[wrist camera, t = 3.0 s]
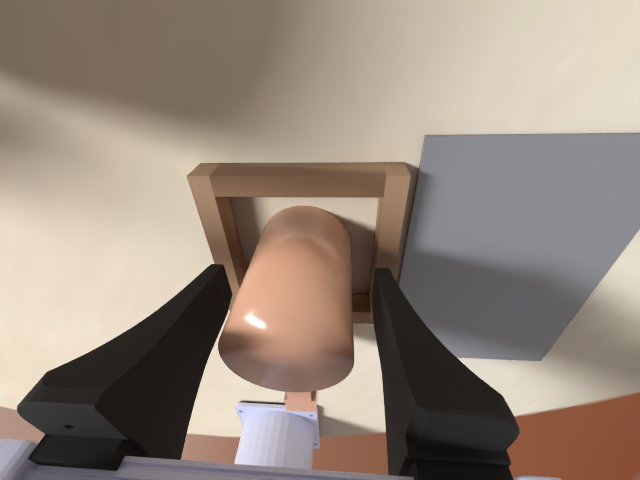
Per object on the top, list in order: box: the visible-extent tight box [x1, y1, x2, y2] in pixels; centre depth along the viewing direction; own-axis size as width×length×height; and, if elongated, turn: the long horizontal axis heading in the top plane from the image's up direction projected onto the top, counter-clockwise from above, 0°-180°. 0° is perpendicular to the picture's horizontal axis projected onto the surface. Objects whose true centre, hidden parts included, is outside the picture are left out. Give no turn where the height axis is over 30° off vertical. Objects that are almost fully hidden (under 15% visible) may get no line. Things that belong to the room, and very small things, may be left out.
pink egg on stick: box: [218, 206, 354, 412], centre depth 15 cm, size 9×5×7 cm, turn 2°
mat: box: [398, 133, 640, 361], centre depth 16 cm, size 16×11×1 cm
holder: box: [187, 162, 411, 324], centre depth 16 cm, size 10×10×2 cm
